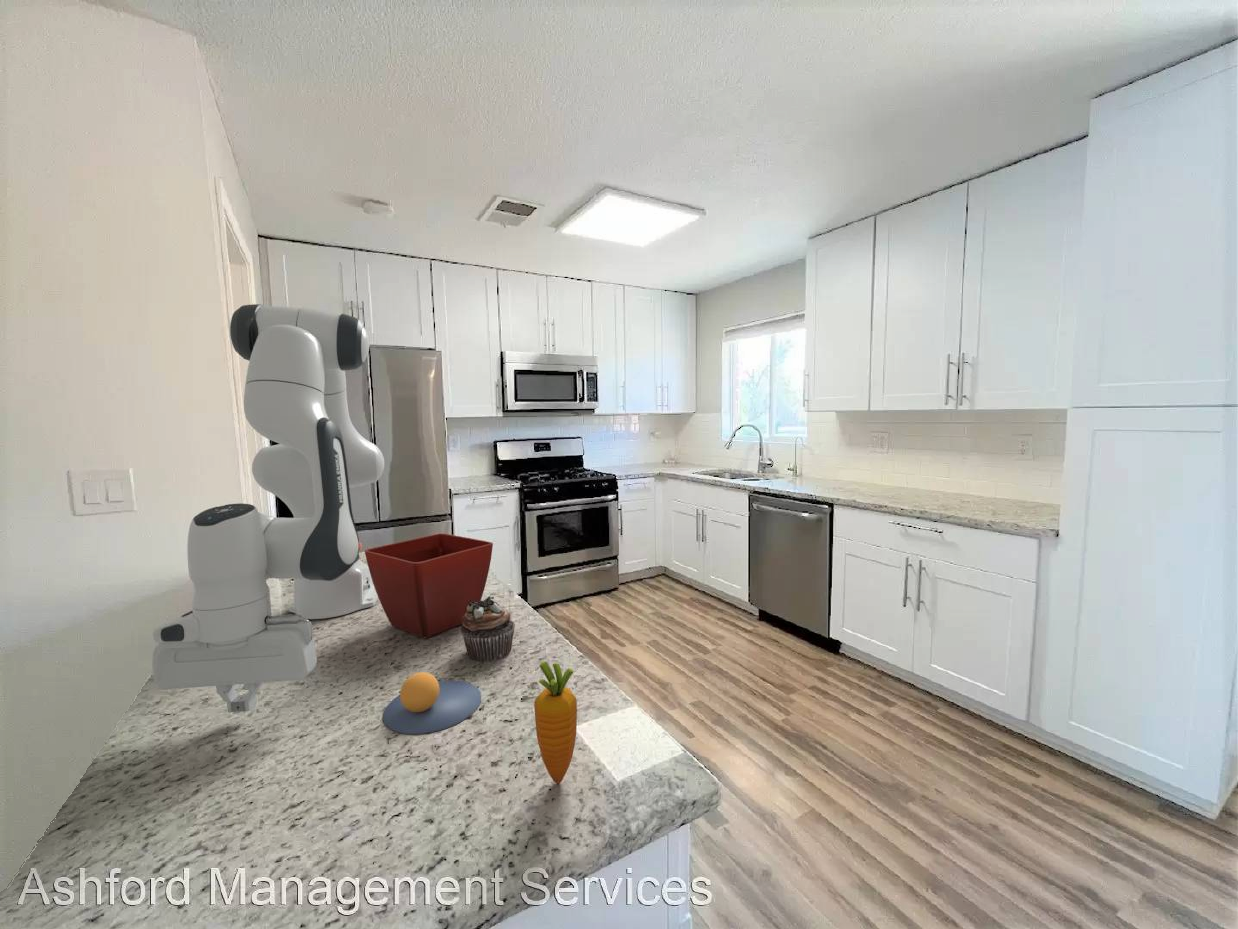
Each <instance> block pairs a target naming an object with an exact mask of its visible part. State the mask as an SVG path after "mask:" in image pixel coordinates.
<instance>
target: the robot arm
mask: <svg viewBox="0 0 1238 929" xmlns="http://www.w3.org/2000/svg"><path fill="white" fill-rule="evenodd" d="M229 337H230V340H231V343H232V347H233V349H234V351H235V352H236V353H237V354H238V355H239V356H240V357H241V358H243V359H244V360H247V361H249V363H248V366H247V370H246V371H247V372H246V377H245V378H246V379H245V384H244V394H243V410H244V411H243V412H244V415H245V419H246V421H247V422H248V424H249V425H250V426H251V428H252V429H254V430H255V432H257V433H258V434H259V435H261V436H262V437H264V438H265V439H268V440H269V441H272V442H274V443H277V444H274V445H273V444H272V445H270V446H269V445H268V446H264V447H262V448H261V449H260V450H258V452H257V453H256V454H255V456H254V457H253V460H252V464H251V465H252V466H251V471H252V476H253V478H254V481H255V482H256V483H257V485H258V486H260V488H262V489H263V490H265V491H267V492H268V493H271V494H273V495H274V496H276V497H277V498H279V499H280V500H281V502H283V503H284V504H285V505H286V506H287V508H288V509H289V510H290V512H291V513H292V515H293V517H275V516H271V515H268V514H264V513H261V512H259V510H258V508H257V507H256V506H255V505H254V504H250V503H242V502H241V503H239V502H238V503H229V504H223V505H219V506H214V507H211V508H208V509H205V510H203V511H201V512H199V513H198V514H197V515H195V516H193V518H192V519H191V522H190V524H189V528H188V535H187V544H186V545H187V567H188V568H187V569H188V575H189V579H190V581H191V583H192V585H193V588H194V593H193V597H192V602H191V609H192V610H189V611H186V612H185V613H183V614H180V615H179V616H178V615H177V616H176V617H174V618H171V619H170V620H168V621H166V622H164V623H162V624H161V625H159V626H157V627H156V628H154V630H153V631H152V638H153V640H154V642H155V643H157V644H156V645H155V647H154V649H153V651H152V677H153V681H154V684H155V685H156V686H157V687H158V688H159V689H161V690H164V691H165V690H177V689H189V688H190V689H191V688H203V687H205V688H206V687H216V689H215V690H216V693H217V694H218V695H219V696H220V698H221V699H223V701H224V702H225V703H226V708H227V713H228V714H229V713H242V712H244V713H245V712H251V711H253V709H255V708H256V706H257V694H258V692H259V691H260V688H261V687H262V685H263V683H275V682H276V683H277V682H289V681H301V680H304V679H305V678H306V677H307V676H308V675H310V673H311V672H312V671H313V670H314V669H315V668H316V666H317V663H318V659H317V651H316V646H315V643H314V639H313V637H314V633H313V624H312V622H311V621H309V620H321V619H330V618H334V617H335V618H336V617H340V616H344V615H347V614H350V613H354V612H356V611H359V610H362V609H363V610H364V609H367V608H370V607H374V606H375V605H376V603H377V601H378V600H379V598H378V595H377V593H376V590H375V587H374V584H373V581H372V578H371V575H370V571H369V567H368V564H366V563H365V562H363V561H362V560H361V559H360V551H361V550H362V548H363V547H362V543H361V542H360V538H359V535H358V534H359V533H358V530H357V527H356V523H355V519H354V514H353V508H352V500H351V499H352V498H351V491H350V490H351V489H350V488H358V487H363V486H366V485H369V484H373V483H377V482H378V480H380V478H381V477H382V475H383V472H384V470H385V458H384V455H383V452H382V451H381V449H380V448H379V447H378V446H377V445H376V444H375V443H374V442H371V441H369V440H368V439H366V438H364V436H362V434H360V432H358V431H357V429H356V427H354V425H353V423H352V420H351V418H350V417H351V416H350V413H349V406H348V405H349V404H348V396H347V395H348V394H347V392H348V390H347V378H346V371H351V370H357V369H359V368H361V367H362V366H363V365H364V364H365V362H366V359H367V357H368V355H369V351H370V345H371V344H370V343H371V342H370V338H369V334H368V331H367V330H366V327H365V324H364V323H363V322H362V321H361V319H359V318H358V317H354V316H351V315H349V314H345V313H341V314H337V313H334V312H329V311H324V310H321V309H315V308H308V307H301V308H300V307H292V306H291V307H289V306H271V305H269V306H265V305H264V304H263V303H262V304H255V303H254V304H253V303H252V304H246V305H245V304H244V305H241V306H240V307H238V308H237V309H236V310H234V312H233V314H232V316H231V319H230V324H229ZM269 579H275V580H276V579H278V580H280V579H282V580H283V579H284V580H285V579H286V580H287V579H289V580H291V579H292V580H293V603H292V604H291V605H288V612H289V613H294V614H291V615H273V614H272V605H271V604H272V603H271V593H270V592H271V591H270V588H269V585H268V583H267V580H269ZM235 685H243V688H244V691H247V693H246V694H244V695H243V694H242V695H240V694H239V693H238V691H237V689H236V687H235Z"/></svg>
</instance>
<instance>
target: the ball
mask: <svg viewBox="0 0 1238 929" xmlns="http://www.w3.org/2000/svg"><path fill="white" fill-rule="evenodd" d="M438 681H439V680H437V678H436V677H435V676H434V675H433V674H431V673H428V672H424V671H422V672H421V671H420V672H417V673H414V674H412V675H411V676H409V677H408V678H407V679H406V680H405V681H404V683H403V684H402V685H401V687H400V688H401V689H400V691H399V693H400V694H399V695H400V699H401V703H402V705H403V706H404V707H405V708H406V709H407V710H409V711H411V712H416V713H417V712H423V711H425V710H427V709H429V708H430V707H431V706H433V704H434V703H435V702H436V700H437V698H438V696H439V684H438Z"/></svg>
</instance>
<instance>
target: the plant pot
mask: <svg viewBox="0 0 1238 929" xmlns="http://www.w3.org/2000/svg"><path fill="white" fill-rule="evenodd" d="M493 546H494V544H493V542H491V541H486V540H482V539H477V538H476V539H475V538H470V537H465V536H460V535H454V534H449V533H435V534H432V535H427V536H423V537H418V538H413V539H409V540H408V539H407V540H404V541H403V540H402V541H399V542H395V543H389V544H385V545H381V546H376V547H372V548H367V549H365V550H364V554H365V559H366V563H367V564H366V565H367V566H368V567H369V571H370V575H371V578H372V581H373V584H374V587H375V590H376V593H377V595H378V600H379V603H380V605H381V607H382V609H383V611H384V614H385V615H386V618H387V619H388V622H389V624H390V625H391V626H393V627H395V628H397V629H399V630H402V631H405V632H407V633H409V634H412V635H415V636H417V637H420V638H422V639H425V638H427V639H428V638H431V637H433V636H435V635H438V634H441V633H443V632H446V631H448V630H450V629H452V628H455V627H457V626H460V625H462V623H461V619H462V617H463V616H464V615H465V613H466V612H468V611H467V606H468V605H469V602H470V601H474V602H479V601H482V598H483V596H484V591H485V589H486V588H485V587H486V583H487V581H488V575H489V571H490V568H491V567H490V566H491V561H492V555H493V554H492V553H493V548H494V547H493Z"/></svg>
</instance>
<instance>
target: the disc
mask: <svg viewBox="0 0 1238 929" xmlns="http://www.w3.org/2000/svg"><path fill="white" fill-rule="evenodd" d="M437 681H438V684H439V696H438V698H437V700H436V702H435V703H434V704H433V706H431V707H430V708H429V709H427V710H425V711H423V712H417V713H416V712H411V711H409V710H407V709H406V708H405V707H404V706H403V705H402V703H401V699H400V694H399V695H397V696H396V697H394V698H393V699H392V700H391V701H389V703H388V704H387V706H386V707H385V708H384V711H383V715H382V716H383V717H382V719H383V722H384V725H385V726H387V728H388V729H389V730H391V731H394V732H396V733H400V734H406V735H422V734H431V733H436V732H439V731H443V730H446V729H449V728H452V727H453V726H455V725H457V724H459V723H461V722H463V721H465V720H466V719H468V718H469V717H471V715H473V714H474V713H475V712H476V711H477V710H478V708H479V707H480V705H481V701H482V693H481V691H480V689H479V688H478V687H477V686H475V684H472V683H470V682H468V681H467V682H466V681H462V680H456V679H453V680H452V679H446V680H437Z"/></svg>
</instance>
